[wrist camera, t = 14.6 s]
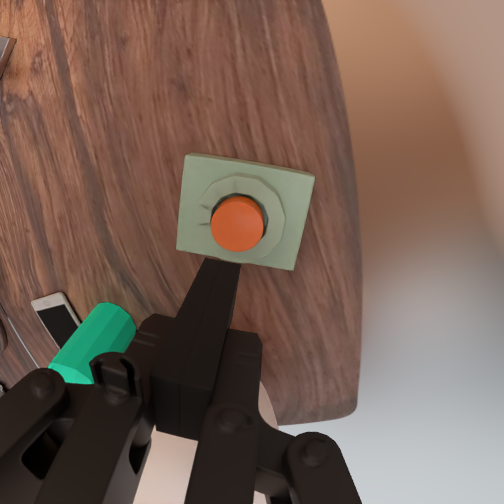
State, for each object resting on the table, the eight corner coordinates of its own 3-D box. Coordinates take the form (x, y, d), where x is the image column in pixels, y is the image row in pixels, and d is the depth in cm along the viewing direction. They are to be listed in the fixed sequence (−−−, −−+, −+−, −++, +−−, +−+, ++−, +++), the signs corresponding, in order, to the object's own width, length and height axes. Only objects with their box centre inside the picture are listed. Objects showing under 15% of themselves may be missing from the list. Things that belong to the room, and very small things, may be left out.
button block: (182, 240, 27) (169, 258, 23) (192, 152, 23) (177, 156, 20) (291, 260, 27) (294, 281, 23) (312, 172, 23) (319, 180, 20)
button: (212, 238, 22) (207, 247, 21) (218, 192, 21) (214, 197, 19) (259, 246, 22) (258, 256, 21) (268, 200, 21) (267, 207, 19)
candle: (87, 299, 30) (30, 365, 19) (131, 305, 30) (78, 382, 19) (99, 339, 33) (54, 407, 22) (140, 346, 32) (101, 423, 21)
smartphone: (60, 292, 29) (120, 383, 35) (62, 290, 30) (121, 380, 35) (29, 302, 31) (84, 384, 36) (31, 299, 31) (86, 381, 37)
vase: (154, 282, 28) (5, 555, 3) (297, 313, 29) (309, 633, 3) (154, 376, 34) (82, 572, 8) (264, 400, 34) (248, 611, 9)
